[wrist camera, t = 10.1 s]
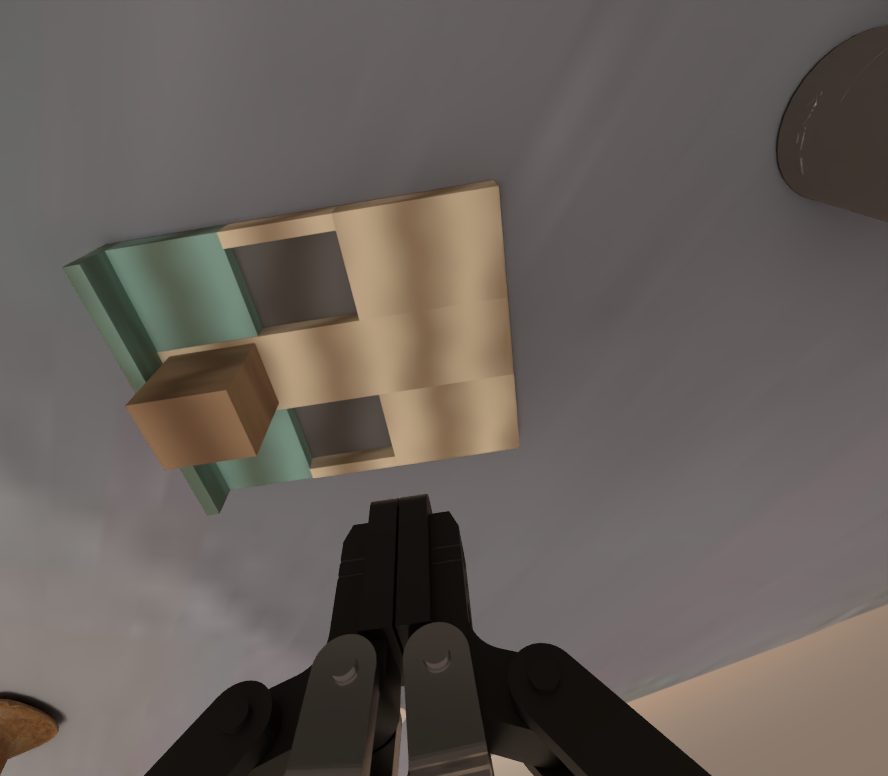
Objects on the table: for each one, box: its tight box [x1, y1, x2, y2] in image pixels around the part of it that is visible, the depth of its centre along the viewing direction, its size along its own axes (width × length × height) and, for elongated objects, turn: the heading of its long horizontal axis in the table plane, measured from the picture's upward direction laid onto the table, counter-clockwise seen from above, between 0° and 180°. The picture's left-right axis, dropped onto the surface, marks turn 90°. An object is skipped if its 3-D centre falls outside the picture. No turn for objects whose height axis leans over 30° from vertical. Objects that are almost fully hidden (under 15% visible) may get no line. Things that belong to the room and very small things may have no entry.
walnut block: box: [126, 343, 279, 470], centre depth 32 cm, size 6×5×6 cm
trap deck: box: [62, 180, 520, 515], centre depth 34 cm, size 25×20×4 cm
